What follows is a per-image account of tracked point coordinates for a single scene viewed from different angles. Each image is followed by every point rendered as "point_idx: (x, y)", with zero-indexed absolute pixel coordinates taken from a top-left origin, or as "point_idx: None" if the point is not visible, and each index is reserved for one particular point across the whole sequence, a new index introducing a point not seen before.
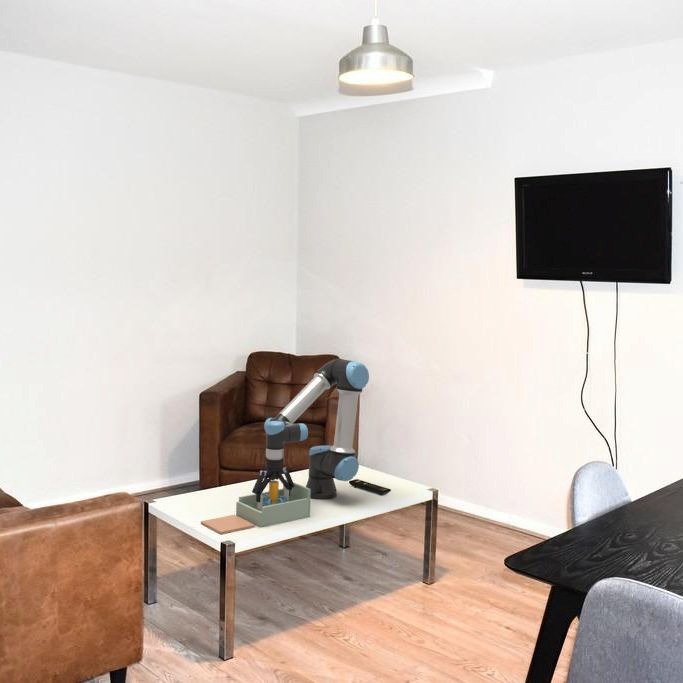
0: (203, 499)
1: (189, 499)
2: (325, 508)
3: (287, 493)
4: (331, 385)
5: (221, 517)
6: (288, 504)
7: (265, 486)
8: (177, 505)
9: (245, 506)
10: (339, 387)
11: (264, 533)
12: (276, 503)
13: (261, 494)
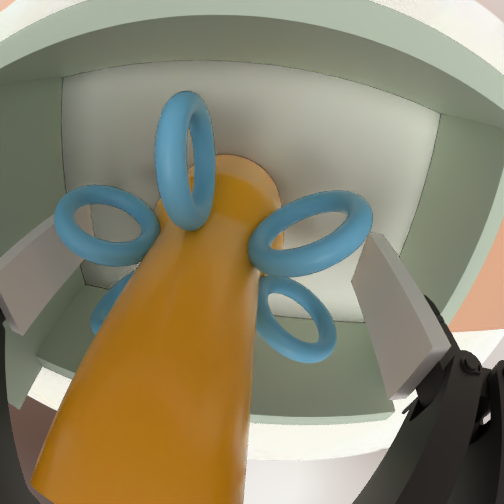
0: (295, 444)
1: (319, 449)
2: None
3: (18, 256)
4: None
5: (455, 329)
6: None
7: (423, 479)
8: (376, 436)
9: (448, 320)
10: None
11: (489, 32)
12: (210, 204)
13: (421, 364)
